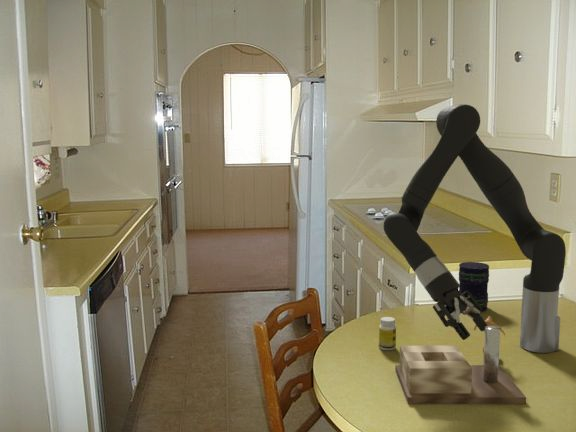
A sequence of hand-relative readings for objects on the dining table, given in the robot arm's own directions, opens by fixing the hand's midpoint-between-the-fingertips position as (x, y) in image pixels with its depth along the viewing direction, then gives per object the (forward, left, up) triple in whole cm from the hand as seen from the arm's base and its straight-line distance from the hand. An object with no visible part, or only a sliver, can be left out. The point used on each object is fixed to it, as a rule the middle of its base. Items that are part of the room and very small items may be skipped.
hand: (476, 333), depth 143 cm
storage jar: (-16, -58, -12) cm, 62 cm away
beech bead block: (+11, +3, -11) cm, 15 cm away
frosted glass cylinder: (-3, +3, -11) cm, 11 cm away
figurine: (-8, -14, -12) cm, 20 cm away
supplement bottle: (+18, -22, -12) cm, 31 cm away
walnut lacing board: (+5, +3, -12) cm, 13 cm away
